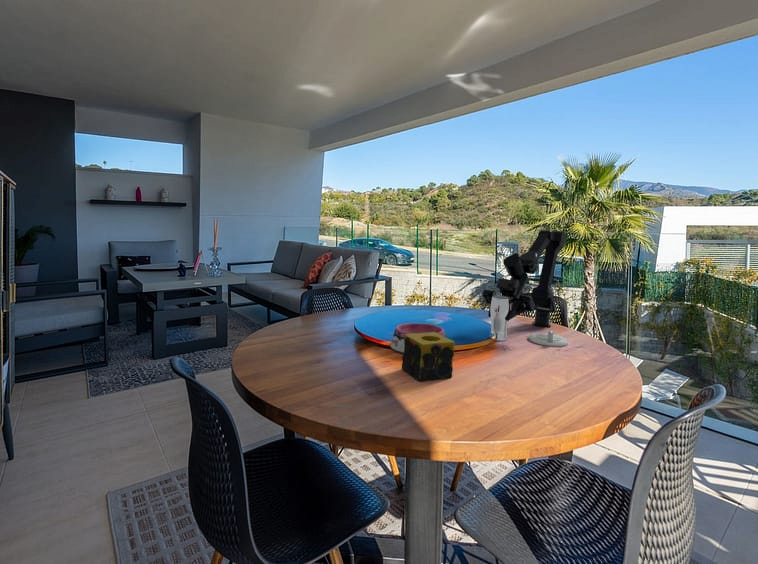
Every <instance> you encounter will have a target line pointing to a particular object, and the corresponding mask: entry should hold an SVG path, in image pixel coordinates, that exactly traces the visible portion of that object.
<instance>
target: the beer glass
mask: <svg viewBox="0 0 758 564" xmlns="http://www.w3.org/2000/svg"><path fill="white" fill-rule="evenodd" d="M511 308H512V303H511V298H510V297H507V296H492V300H491V308H490V316H491V317H490V323H491V324H490V325H491V329H490V333H492V334H494V335H495V338H494V341H498V342H499V341H500V342H505V341H507V340H508V334H507V333H508V332H507V329H508V326H509V325H508V324H509V321H510V320H509V321H507V320H506V318H507V315H508V314H509V312H510V310H511Z"/></svg>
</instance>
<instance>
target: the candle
mask: <svg viewBox="0 0 758 564" xmlns="http://www.w3.org/2000/svg"><path fill="white" fill-rule="evenodd" d="M455 344H456V343H455V341H454V340H452V339H450V338H448V337H447V336H446V337H444V336H442V335H440V334H438V333H436V332H430V333H414V334H404V353H403V354H402V361H401V362H402V363H401V370H403V371H404V372H405V373H407V374H408V375H409V376H411V377H412V378H414V379H415V380H416V381H417V382H421V383H422V382H430V381H437V380H438V381H439V380H444V379H452V378H453V370H454V369H453V361H454V356H455V355H454V354H455Z"/></svg>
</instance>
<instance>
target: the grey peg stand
mask: <svg viewBox="0 0 758 564" xmlns="http://www.w3.org/2000/svg"><path fill="white" fill-rule="evenodd" d="M528 340H529V341H530V342H531V343H534V344H538V345H542V346H546V347H559V348H560V347H566V346H568V345H569V339H568V338H566V337H564V336H561V335H558V334H554V331H548V333H545V332H544V333H543V332H542V333H541V332H535V333H533V332H532V333H529V335H528Z"/></svg>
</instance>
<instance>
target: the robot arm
mask: <svg viewBox="0 0 758 564" xmlns="http://www.w3.org/2000/svg"><path fill="white" fill-rule="evenodd" d="M567 238H568V236H567V234H566V233H565V231H564V230H549V229H541V230H539V231H538V233H537V237H536V238H535V240H534V241H533V243H532V244H531V245H530V247H529V248H528V250H527V251H526V252H525V253H523V254H521V255H519V253H518V252H517V253H512V254H511V255H508V256H506V257H505V258H504V259H503V261H502V263H503V266H504V268H505V270H506V273H507V274H508V276H509V277H510V278H509V279H508V278H497V283H496V286H495V287H496V288H498V291H499V294H497V293H496V291H495V290H492V289H487V288H486V289H484V290H483V291H482V293H481V296H482V297H483V300H484V301H485V303H486V304H487V305H489V307H488V313H487V315H488V317H489V318H491V316H490V308H491V300H492V296H507V297H510V298H511V304H512V305H511V310H510V312H509V314H508V315H507V318H506V320H507V321H510V320H512V319H514V318H515V317H517V316H518V315H521V314H523V313H526V312H531V313H533V312H534V310H535V313H534V321H532V325H533V326H536V327H545V328H551V326H552V325H551V324H550V318H551V313H555V312H556V311H557V310H556V309H557V305H556V301H555V299H554V292H553V290H552V283H553V279H554V274H555V268H556V264H557V259H558V255H559V253H560V252H561V251H562V250H563V249H564V246H565V244H566V242H567V241H568V239H567ZM543 253H544V257H543V262H542V265H541V266H542V267H541V272H540V276H539V281H538V285H537V286H536V287H533V288H532V291H531V295H523V294H524V292H523V290H524V288H525V286H526V285H530V278H529V275H534V274H536V272H537V271H538V269H539V267H540V262H539V260H540V258H541V256H542V254H543ZM528 274H529V275H528Z"/></svg>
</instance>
